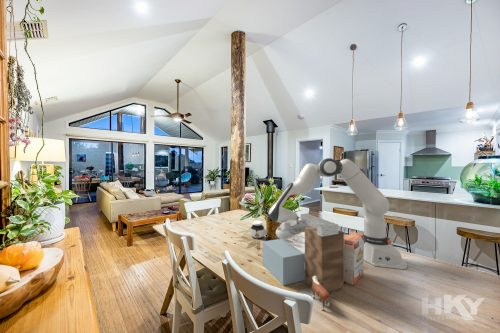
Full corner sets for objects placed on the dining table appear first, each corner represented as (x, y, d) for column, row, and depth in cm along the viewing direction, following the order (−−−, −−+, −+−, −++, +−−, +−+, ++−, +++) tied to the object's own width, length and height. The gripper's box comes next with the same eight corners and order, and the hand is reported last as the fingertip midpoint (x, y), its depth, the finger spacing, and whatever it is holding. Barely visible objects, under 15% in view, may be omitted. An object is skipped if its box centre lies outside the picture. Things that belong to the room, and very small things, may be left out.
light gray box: (292, 222, 111) (292, 215, 111) (307, 221, 115) (307, 213, 115) (321, 236, 91) (321, 227, 91) (338, 233, 94) (338, 224, 94)
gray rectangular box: (262, 264, 121) (262, 241, 121) (281, 260, 126) (281, 238, 125) (283, 285, 101) (283, 257, 100) (304, 280, 105) (304, 253, 105)
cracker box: (354, 286, 100) (355, 241, 99) (341, 281, 104) (341, 238, 103) (364, 274, 110) (364, 233, 109) (352, 270, 114) (352, 231, 113)
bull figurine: (317, 291, 96) (317, 273, 96) (332, 312, 83) (332, 291, 83) (307, 292, 96) (307, 273, 95) (321, 313, 82) (321, 292, 82)
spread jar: (249, 238, 164) (249, 222, 163) (256, 233, 174) (255, 219, 173) (263, 240, 158) (263, 224, 158) (269, 235, 168) (269, 221, 168)
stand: (305, 281, 104) (304, 227, 103) (324, 276, 109) (324, 224, 108) (322, 295, 93) (322, 235, 92) (343, 289, 97) (343, 231, 97)
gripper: (275, 224, 122) (286, 217, 111) (305, 220, 130) (318, 213, 118) (277, 235, 119) (289, 229, 108) (308, 230, 127) (322, 224, 116)
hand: (305, 220), depth 113 cm, fingers open, 8 cm apart
